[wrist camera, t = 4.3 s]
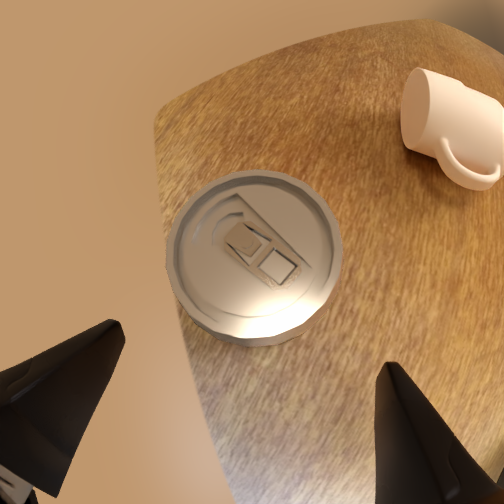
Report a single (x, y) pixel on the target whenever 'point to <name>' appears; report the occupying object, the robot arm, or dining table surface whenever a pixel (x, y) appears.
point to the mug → (454, 128)
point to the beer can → (255, 257)
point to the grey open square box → (501, 480)
